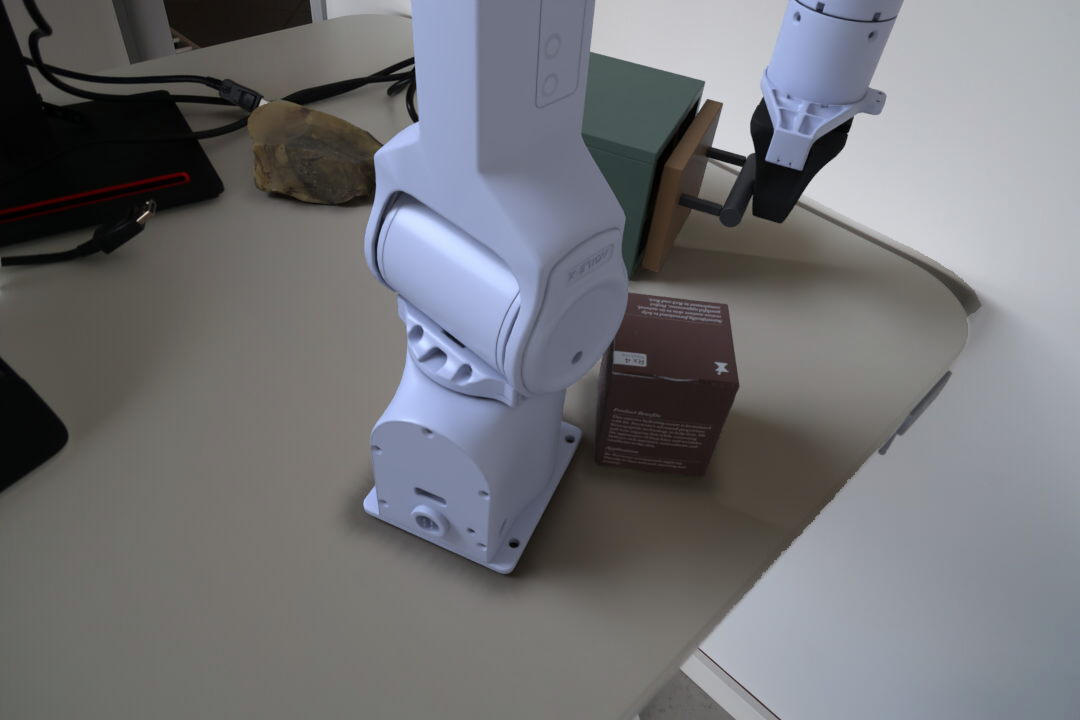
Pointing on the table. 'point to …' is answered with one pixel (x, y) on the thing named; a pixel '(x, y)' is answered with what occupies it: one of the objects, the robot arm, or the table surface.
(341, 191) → the decorative stone
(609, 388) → the box
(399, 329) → the table surface
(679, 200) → the drawer
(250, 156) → the table surface
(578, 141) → the robot arm
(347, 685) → the table surface
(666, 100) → the cabinet
